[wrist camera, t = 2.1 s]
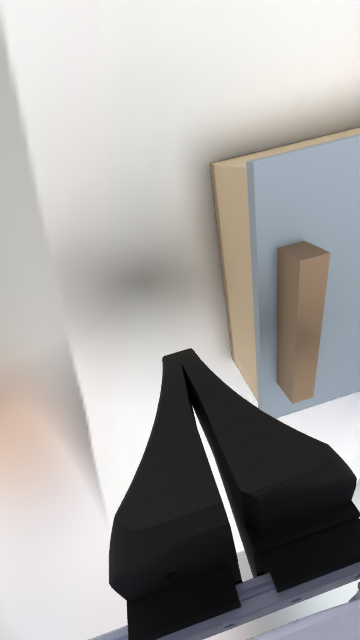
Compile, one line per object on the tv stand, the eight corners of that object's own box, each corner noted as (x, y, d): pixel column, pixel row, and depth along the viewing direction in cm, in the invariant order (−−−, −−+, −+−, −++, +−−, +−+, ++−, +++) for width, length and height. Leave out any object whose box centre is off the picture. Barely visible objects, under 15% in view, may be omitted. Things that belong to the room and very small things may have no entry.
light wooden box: (345, 324, 23) (397, 363, 19) (232, 358, 22) (260, 407, 18) (380, 121, 15) (483, 110, 11) (209, 163, 14) (250, 168, 10)
